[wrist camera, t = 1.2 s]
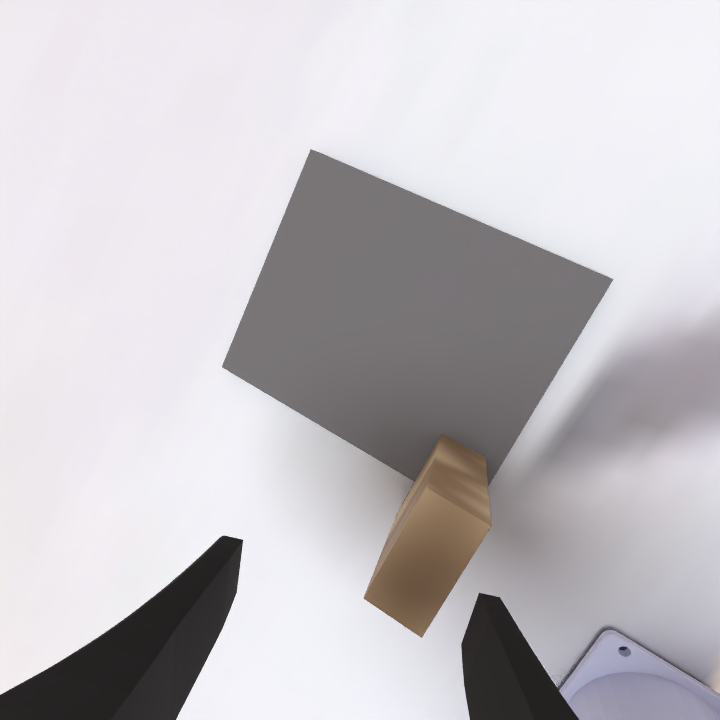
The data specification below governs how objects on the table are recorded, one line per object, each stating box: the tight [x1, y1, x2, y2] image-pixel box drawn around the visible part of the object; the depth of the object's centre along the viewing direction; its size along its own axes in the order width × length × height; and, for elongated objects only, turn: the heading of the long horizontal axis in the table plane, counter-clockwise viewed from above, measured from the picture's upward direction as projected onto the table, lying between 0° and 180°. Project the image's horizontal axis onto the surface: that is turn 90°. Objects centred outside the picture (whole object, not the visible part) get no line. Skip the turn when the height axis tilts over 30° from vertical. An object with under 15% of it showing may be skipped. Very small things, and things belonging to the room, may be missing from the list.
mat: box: [222, 149, 613, 486], centre depth 21 cm, size 16×13×1 cm
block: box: [364, 434, 491, 638], centre depth 17 cm, size 2×5×7 cm, turn 154°
